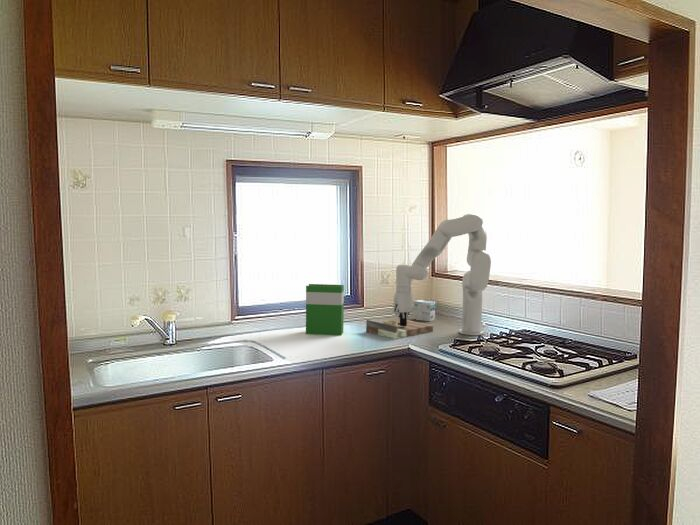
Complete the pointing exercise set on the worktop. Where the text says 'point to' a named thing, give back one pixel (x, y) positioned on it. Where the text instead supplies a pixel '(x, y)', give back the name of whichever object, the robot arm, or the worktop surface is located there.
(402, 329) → the board
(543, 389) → the worktop surface
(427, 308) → the light bulb box
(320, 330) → the green cereal box
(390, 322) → the maple block
